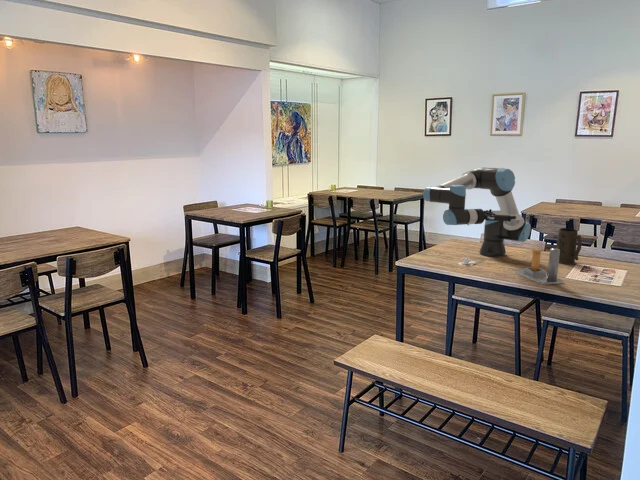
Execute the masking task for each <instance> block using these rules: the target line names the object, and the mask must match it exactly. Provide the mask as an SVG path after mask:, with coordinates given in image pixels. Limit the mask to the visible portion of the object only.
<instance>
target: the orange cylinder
mask: <svg viewBox="0 0 640 480" xmlns="http://www.w3.org/2000/svg"><path fill="white" fill-rule="evenodd" d="M531 251H532V258H531V270H533V271H539V268H540V263H541V253H542V252H543V249H541V248H532V250H531Z"/></svg>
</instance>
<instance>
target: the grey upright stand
mask: <svg viewBox="0 0 640 480" xmlns="http://www.w3.org/2000/svg"><path fill="white" fill-rule="evenodd" d="M559 255H560V249H557V248H556V247H554V248H553V247H551V248H549V255H548V256H549V257H548V264H547V270H545V269H543V268H540V267H539V271H533V270H531V267H524V268H523V269H520V270H518V269H517V270H514V274H517V275H519V276H521V277H523V278H525V279H528V280H531V281H533V282H535V283H537V284H539V285H542V286H546V285H548V286H549V285H560V284H564V283H565V280H563V279H560V278H558V272H559V265H560V263H559Z"/></svg>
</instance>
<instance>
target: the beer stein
mask: <svg viewBox="0 0 640 480" xmlns="http://www.w3.org/2000/svg"><path fill="white" fill-rule="evenodd" d="M582 246H583V245H582V235H580V234H579V233H578V230H577V229H575V228H574V229H573V228H565V227H562V228H559V229H558V235H557V239H556V247H555V248H557V249H560V255H559V264H562V265H573V264H575V263H576V261H579V254H580V252H581V250H582Z"/></svg>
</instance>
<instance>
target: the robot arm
mask: <svg viewBox="0 0 640 480" xmlns="http://www.w3.org/2000/svg"><path fill="white" fill-rule="evenodd" d="M515 185H516V176H515V173H514V172H513V170H511V169H510V168H505V167H498V168H497V167H479V168H475V169H474V168H473V169H471V170H469V171H466V172H463V173H462V174H461V176H459V177H456V178H454V179H451V180H449V181H447V182H444V183H441V184H439V185H437V186H427V187H425V188H424V189H423V191H422V197H423V200H424V201H426V202H430V203H438V204H439V203H440V204H445V205H446V204H448V209H446V210H444V212H443V214H442V221H443V223H444V224H445V225H447V226H460V225H461V226H462V225H464V226H465V225H467V226H470V225H481V224H483V223H484V225H483V226H484V227H483V229H484V230H483V242H482V244H481V246H480V249H479V254H481V255H482V256H484V257H485V256H487V257H494V258H495V257H497V258H498V257H500V258H501V257H505V256H506V253H507V251H506V248H505V242H504V241H505V240H506V241H512V242H518V243H519V242H520V243H524V242H527V240H528V238H529V237H530V235H531V229H532V226H531V223H530V222H528V221H525V219H524V217H523V216H522V214H520V212H519V210H518V208H517V204H516V201H515V198H514V196H513V192H512V191H513V189H514V187H515ZM472 189H481V190H489V191H490V194H491V195H492V196H494V197H495V199H496V202H497V204H498V207H499V210H492V209H491V208H490V209H489V210H488V209H487V210H483V209H482V208H466V198H467V197H466V196H467V190H472Z"/></svg>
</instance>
